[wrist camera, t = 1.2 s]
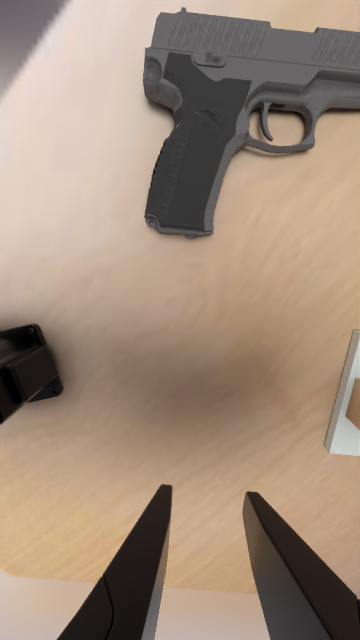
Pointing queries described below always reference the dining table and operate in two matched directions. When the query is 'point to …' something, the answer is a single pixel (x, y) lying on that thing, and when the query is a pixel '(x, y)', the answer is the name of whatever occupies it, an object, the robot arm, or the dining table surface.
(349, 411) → the brown wooden block
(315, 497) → the dining table surface
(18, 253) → the dining table surface
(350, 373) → the panel
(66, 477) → the dining table surface
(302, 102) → the handgun
